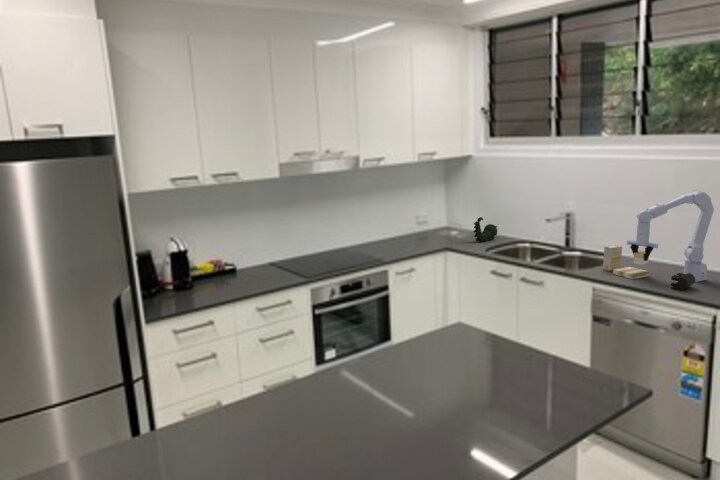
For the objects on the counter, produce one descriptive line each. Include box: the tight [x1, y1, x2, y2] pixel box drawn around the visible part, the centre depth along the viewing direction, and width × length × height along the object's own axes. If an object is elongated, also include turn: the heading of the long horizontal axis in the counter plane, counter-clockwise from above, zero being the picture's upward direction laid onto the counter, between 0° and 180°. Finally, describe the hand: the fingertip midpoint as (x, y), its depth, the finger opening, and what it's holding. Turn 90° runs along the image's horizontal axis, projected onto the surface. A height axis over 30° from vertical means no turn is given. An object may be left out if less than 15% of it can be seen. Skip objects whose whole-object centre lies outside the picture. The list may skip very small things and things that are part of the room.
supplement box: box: [602, 244, 623, 272], centre depth 289 cm, size 8×5×13 cm, turn 111°
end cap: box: [670, 272, 696, 291], centre depth 253 cm, size 10×7×7 cm
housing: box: [632, 249, 650, 266], centre depth 275 cm, size 8×5×6 cm, turn 132°
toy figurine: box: [473, 217, 498, 243], centre depth 375 cm, size 9×19×25 cm
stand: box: [612, 266, 650, 280], centre depth 278 cm, size 12×12×2 cm
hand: (640, 259), depth 275 cm, fingers closed on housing, 5 cm apart
